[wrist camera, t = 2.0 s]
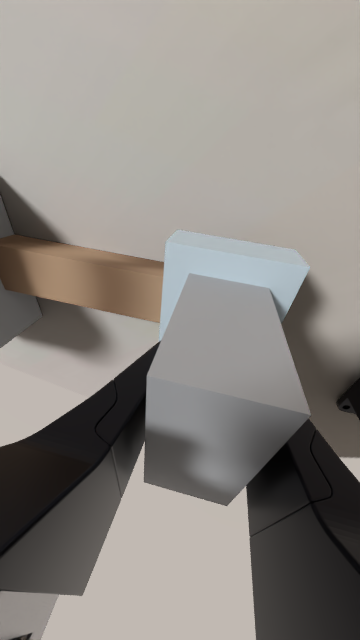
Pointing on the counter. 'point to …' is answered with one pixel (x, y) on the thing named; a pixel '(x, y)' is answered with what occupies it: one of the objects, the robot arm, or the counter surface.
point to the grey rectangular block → (14, 298)
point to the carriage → (222, 365)
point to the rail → (82, 276)
